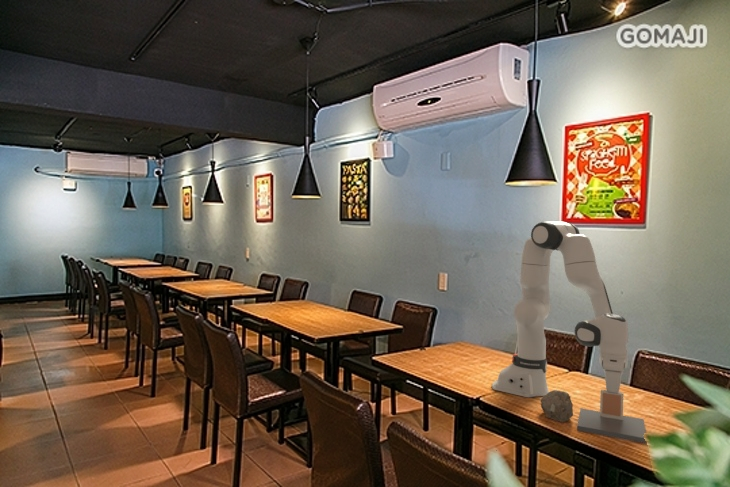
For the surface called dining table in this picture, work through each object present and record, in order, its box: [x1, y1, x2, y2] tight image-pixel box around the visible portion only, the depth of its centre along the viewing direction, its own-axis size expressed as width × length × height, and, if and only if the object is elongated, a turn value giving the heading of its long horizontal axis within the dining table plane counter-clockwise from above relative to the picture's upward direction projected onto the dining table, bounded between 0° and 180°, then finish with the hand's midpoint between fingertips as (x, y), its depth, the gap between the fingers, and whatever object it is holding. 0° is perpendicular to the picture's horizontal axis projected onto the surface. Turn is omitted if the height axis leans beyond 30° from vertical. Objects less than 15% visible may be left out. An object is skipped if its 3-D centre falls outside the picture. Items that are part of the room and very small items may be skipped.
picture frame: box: [599, 389, 624, 420], centre depth 167 cm, size 7×2×9 cm, turn 62°
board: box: [576, 408, 647, 444], centre depth 163 cm, size 20×18×2 cm
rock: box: [540, 389, 574, 423], centre depth 170 cm, size 14×10×8 cm
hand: (612, 398), depth 171 cm, fingers closed
